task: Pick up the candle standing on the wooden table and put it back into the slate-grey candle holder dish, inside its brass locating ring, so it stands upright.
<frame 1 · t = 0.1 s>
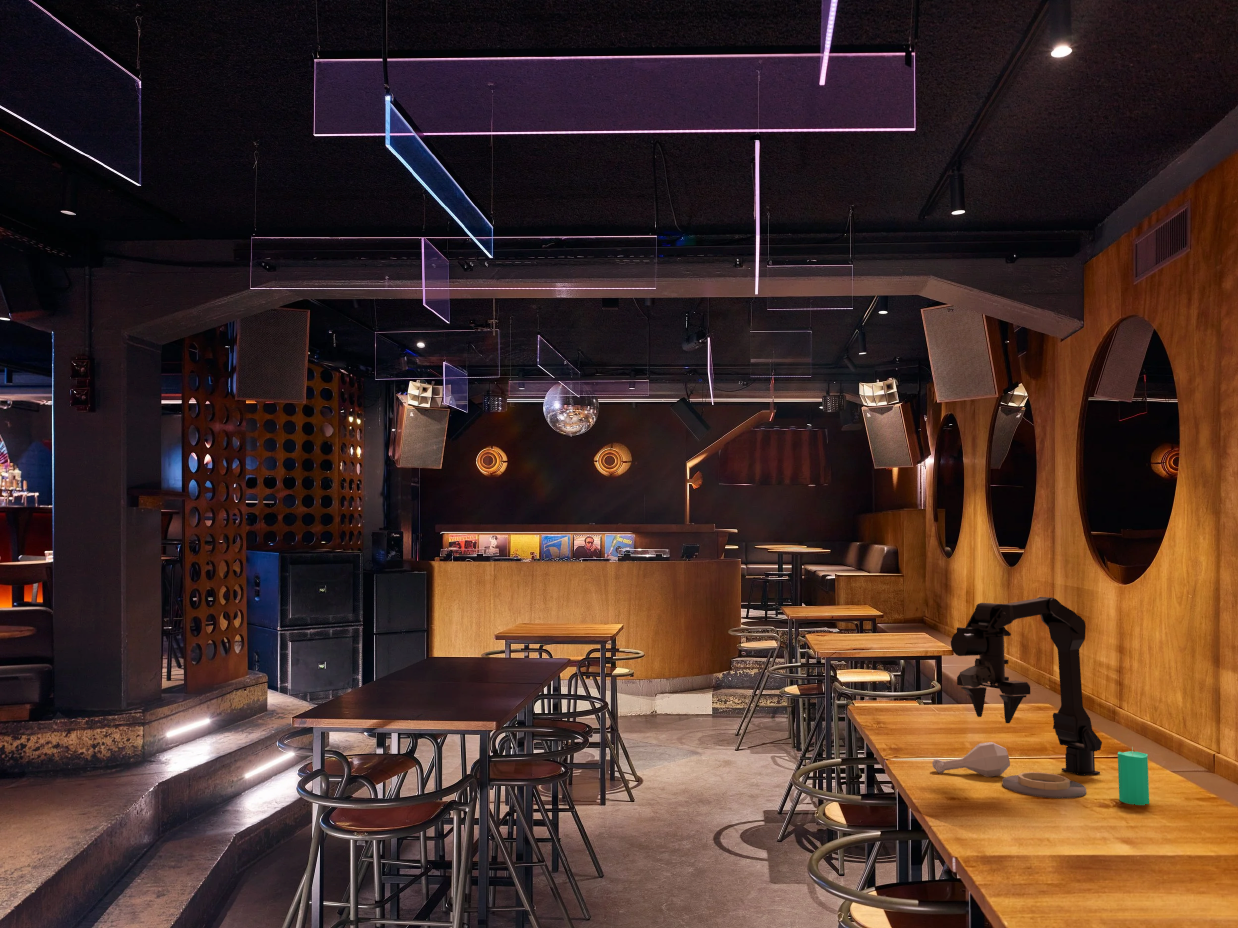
hand: (993, 719, 229), 15 cm above the table, tool pointing down, fingers open, 9 cm apart
chicken leg: (970, 775, 236), on the table
candle: (1134, 802, 211), on the table
candle holder: (1043, 788, 222), on the table
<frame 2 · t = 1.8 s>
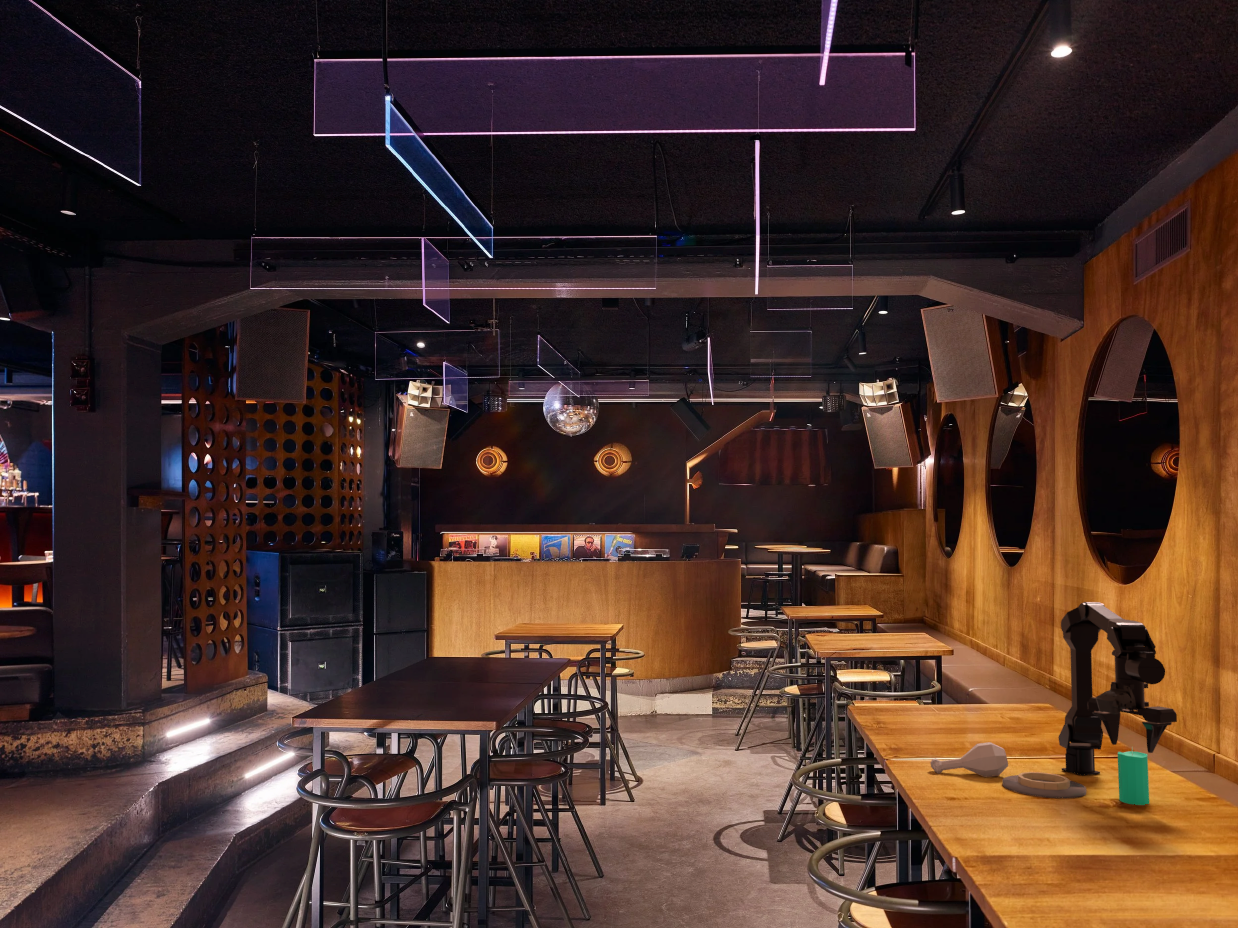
hand: (1132, 748, 212), 12 cm above the table, tool pointing down, fingers open, 9 cm apart
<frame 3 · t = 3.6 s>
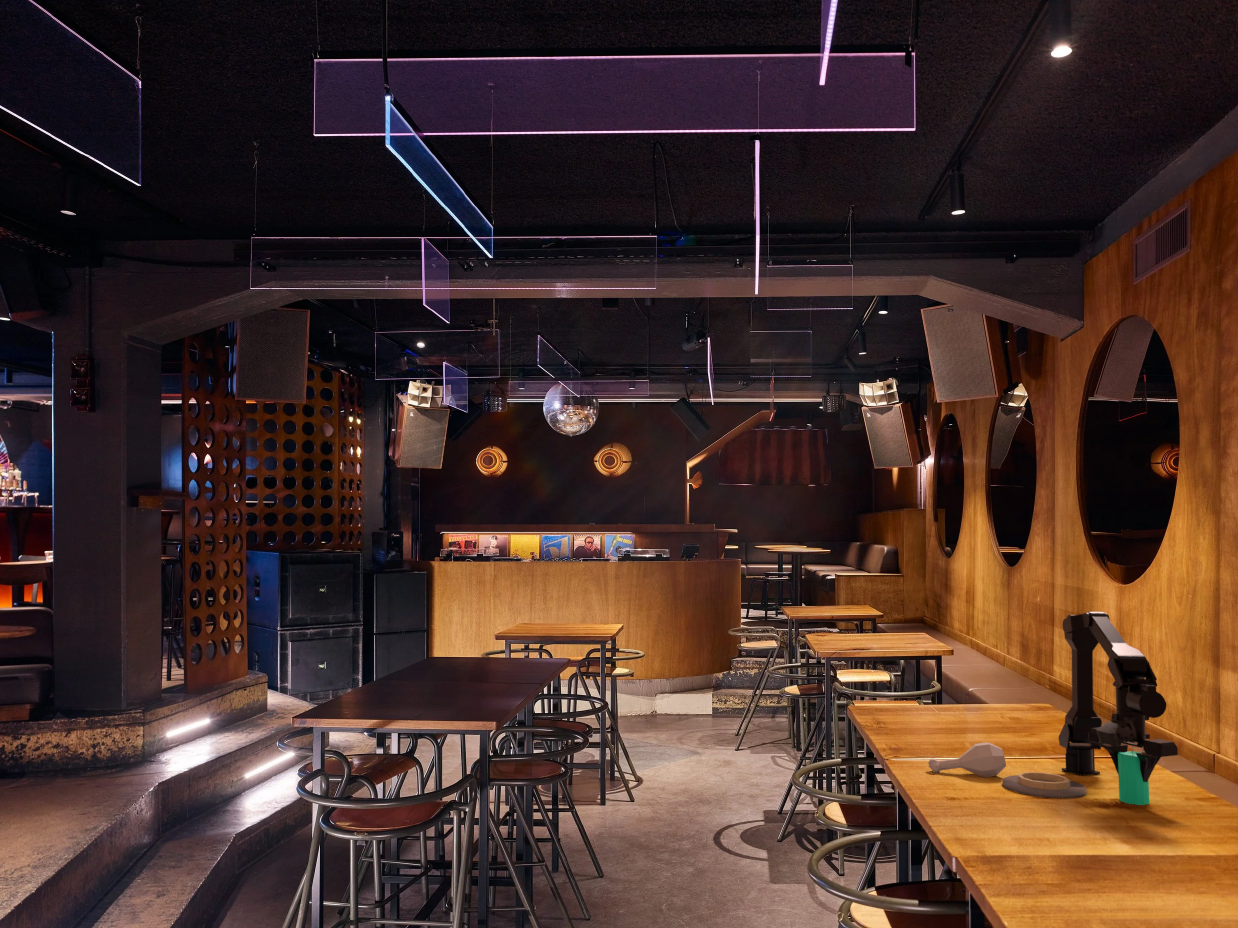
hand: (1132, 780, 212), 4 cm above the table, tool pointing down, fingers closed on candle, 5 cm apart
candle: (1134, 802, 211), on the table, touching gripper
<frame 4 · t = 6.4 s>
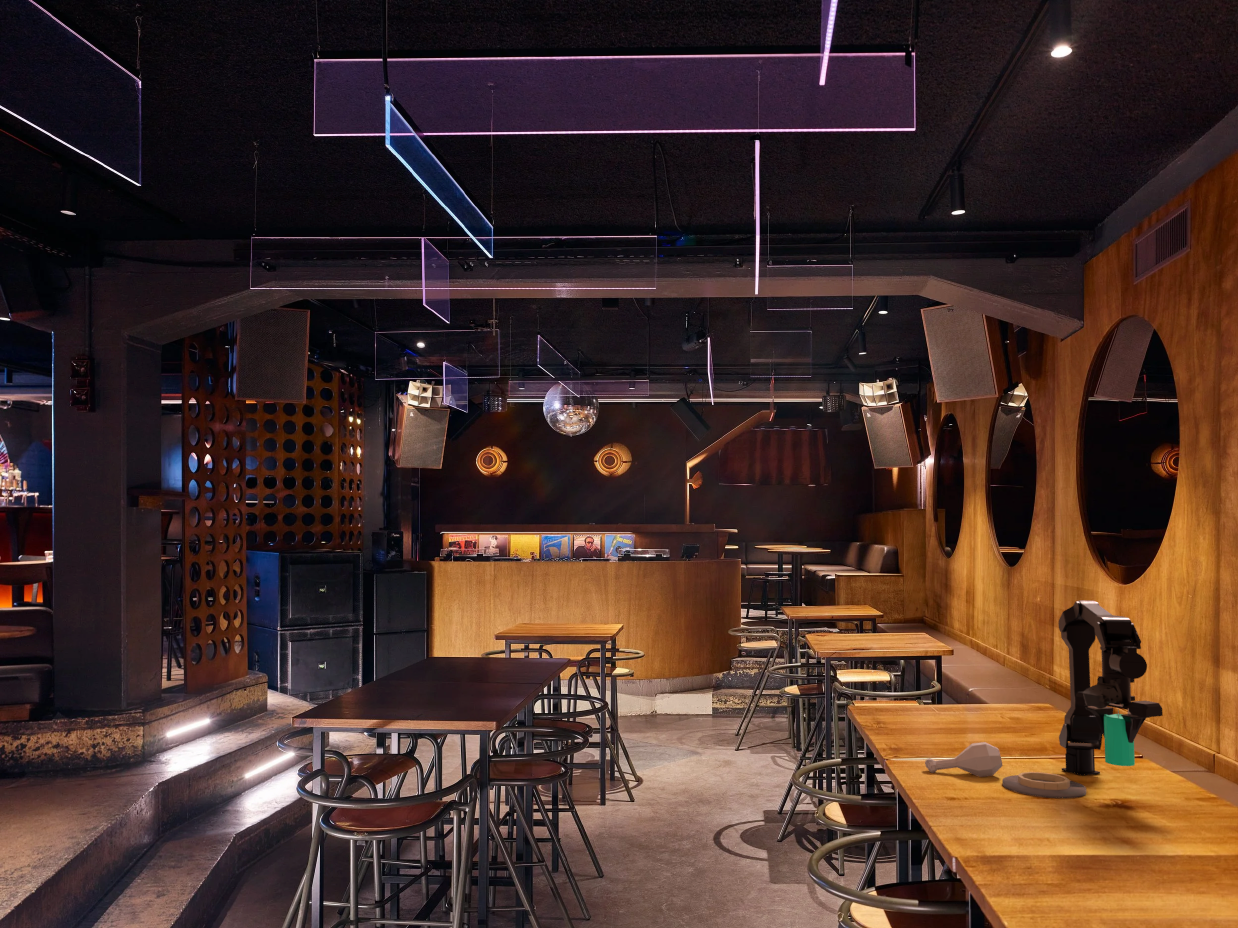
hand: (1118, 742, 214), 13 cm above the table, tool pointing down, fingers closed on candle, 5 cm apart
candle: (1119, 763, 214), point 8 cm above the table, touching gripper
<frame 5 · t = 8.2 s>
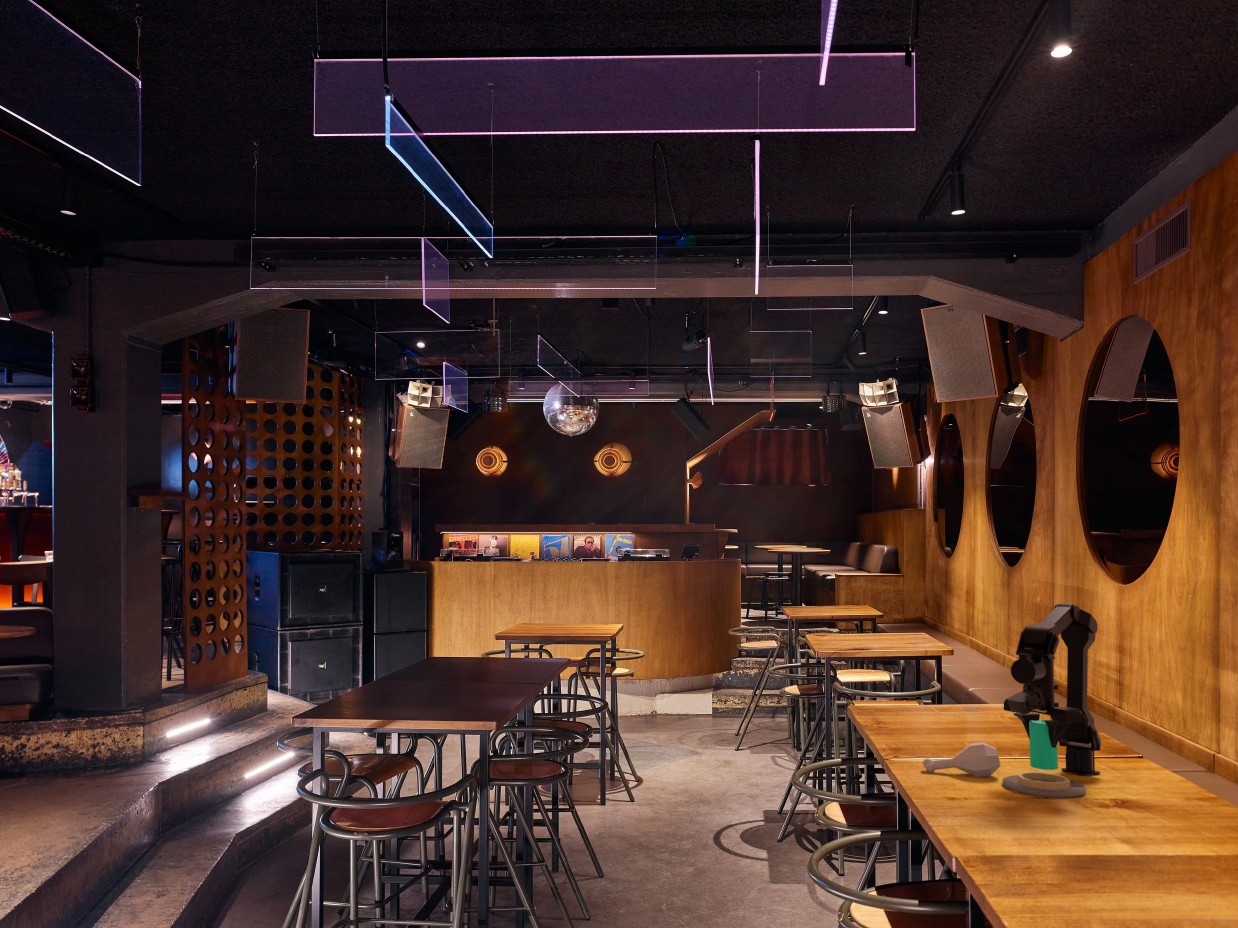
hand: (1042, 747, 223), 9 cm above the table, tool pointing down, fingers closed on candle, 5 cm apart
candle: (1044, 767, 222), point 5 cm above the table, touching gripper
when the fingers open (7 cm above the table, at t = 9.6 s): candle drops 1 cm, resting on candle holder.
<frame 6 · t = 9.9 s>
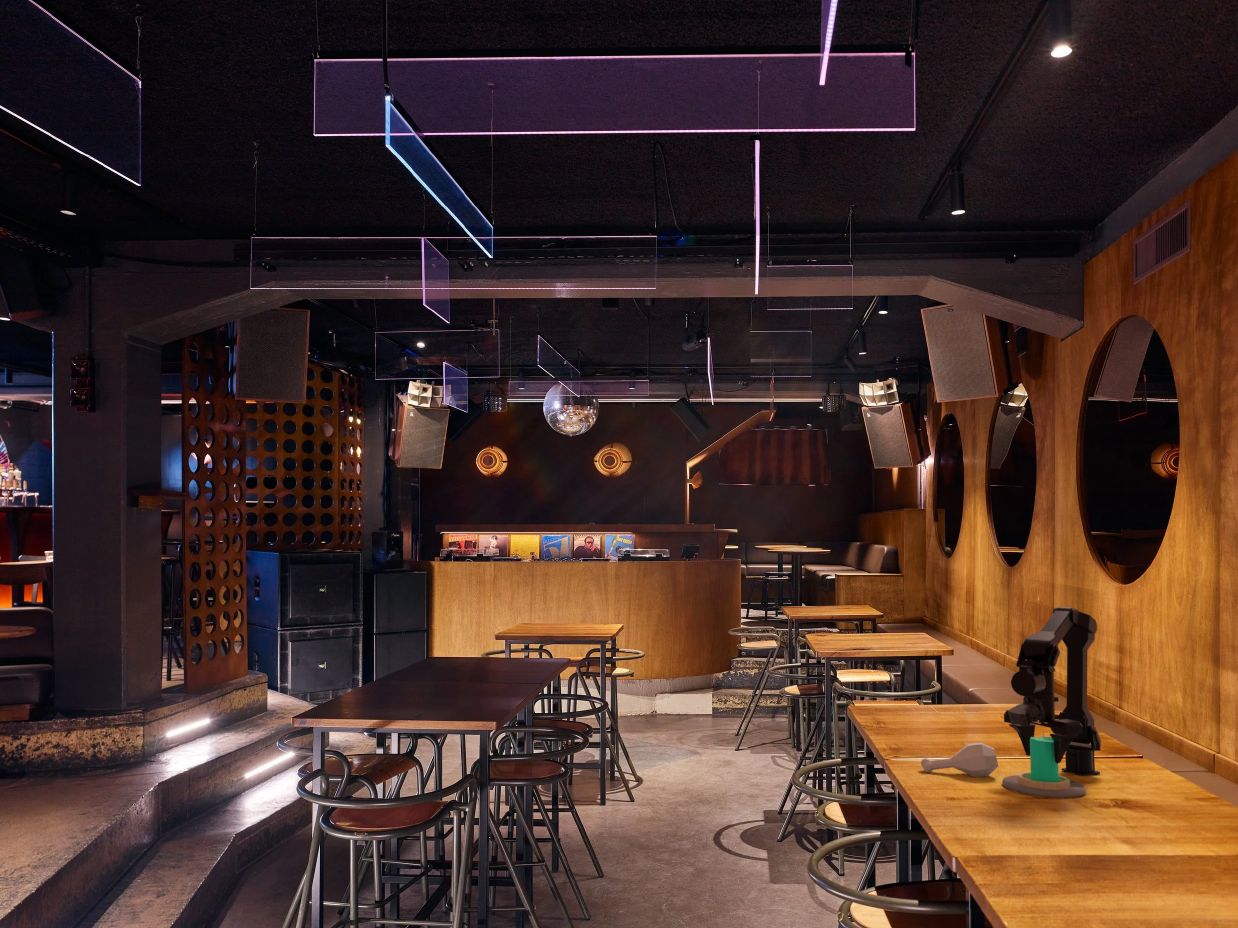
hand: (1042, 759, 223), 7 cm above the table, tool pointing down, fingers open, 8 cm apart
candle: (1044, 785, 222), point 1 cm above the table, touching candle holder
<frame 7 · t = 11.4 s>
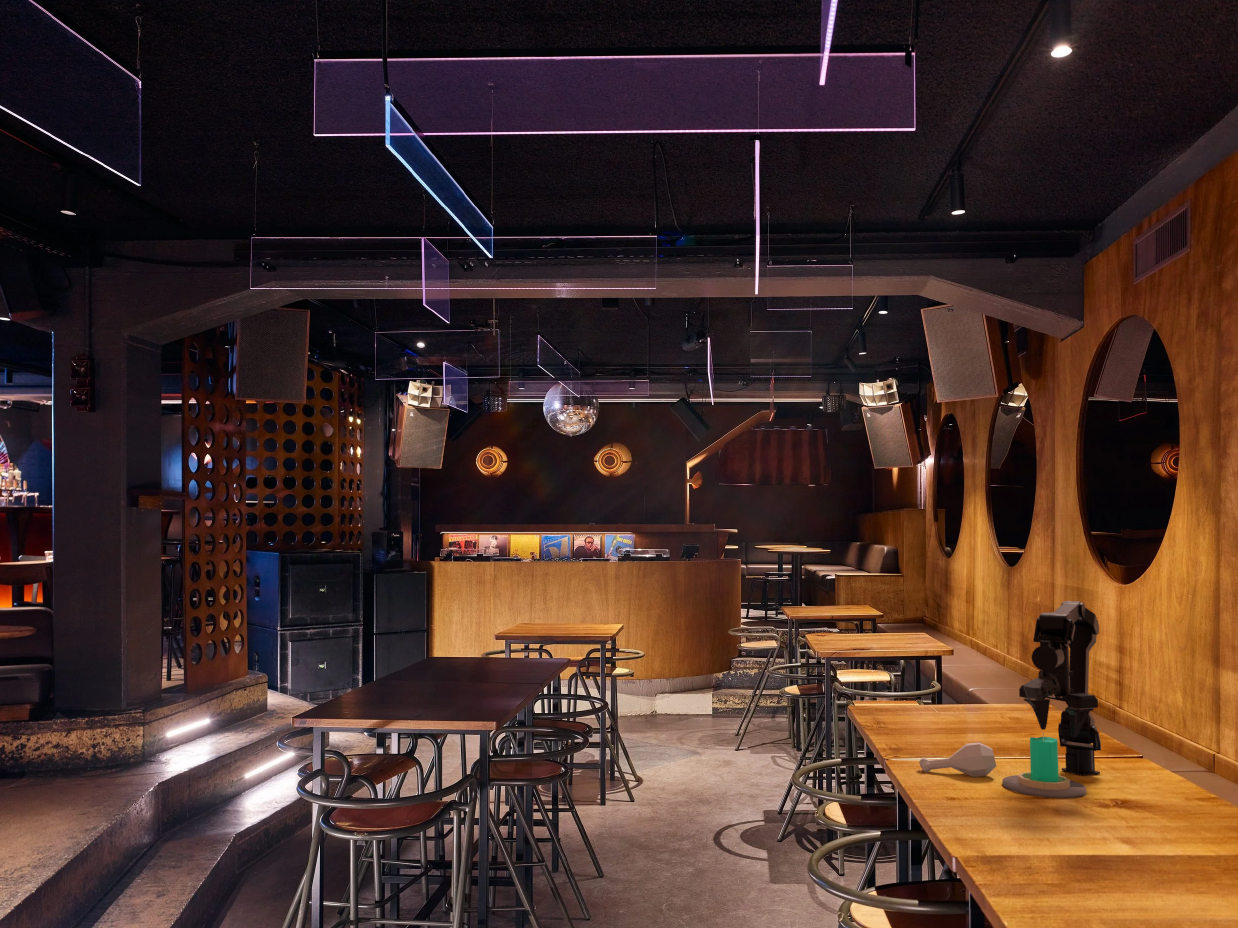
hand: (1058, 733, 224), 13 cm above the table, tool pointing down, fingers open, 9 cm apart
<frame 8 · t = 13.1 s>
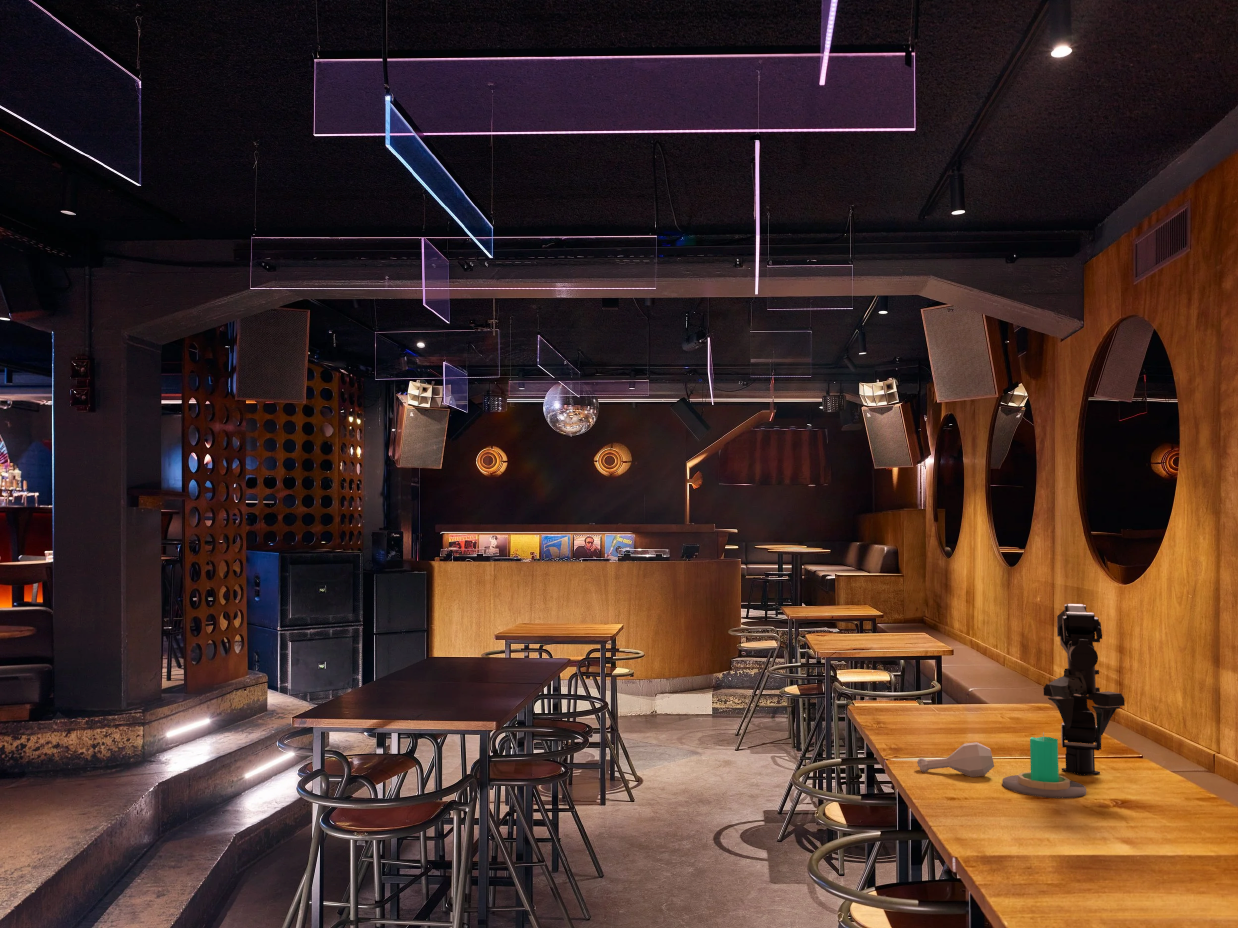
hand: (1083, 731, 224), 13 cm above the table, tool pointing down, fingers open, 9 cm apart
at the end: candle 0.4 cm off-centre on the candle holder, point 0.8 cm above the candle holder's base; candle tilted 0°; the gripper is holding nothing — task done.
